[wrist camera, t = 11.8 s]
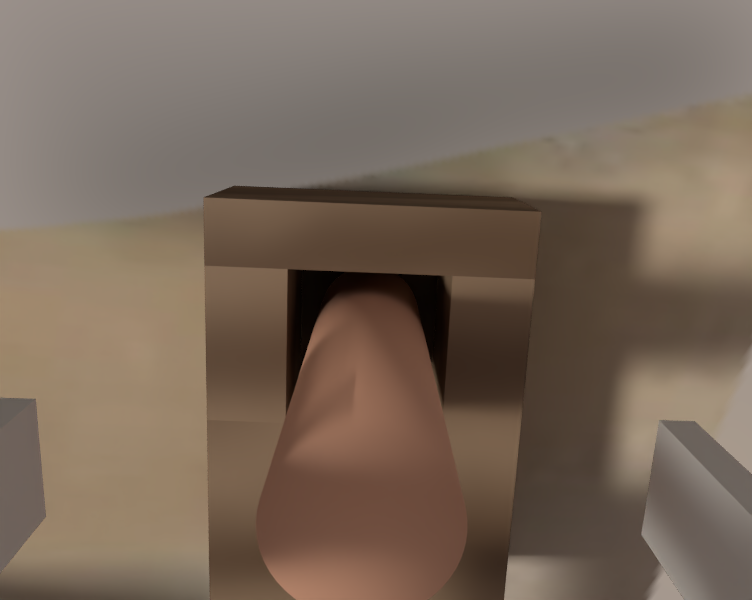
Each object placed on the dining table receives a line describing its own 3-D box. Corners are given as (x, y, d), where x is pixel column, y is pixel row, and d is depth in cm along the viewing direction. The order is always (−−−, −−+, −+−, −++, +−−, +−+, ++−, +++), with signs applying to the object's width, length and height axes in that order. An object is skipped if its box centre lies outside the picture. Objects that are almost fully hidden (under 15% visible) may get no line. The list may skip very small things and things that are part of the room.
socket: (234, 185, 28) (203, 197, 23) (512, 197, 28) (541, 211, 23) (235, 546, 31) (210, 622, 26) (481, 556, 31) (500, 633, 26)
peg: (321, 264, 28) (256, 425, 13) (420, 268, 28) (475, 434, 13) (319, 358, 29) (255, 616, 14) (415, 362, 29) (459, 623, 14)
